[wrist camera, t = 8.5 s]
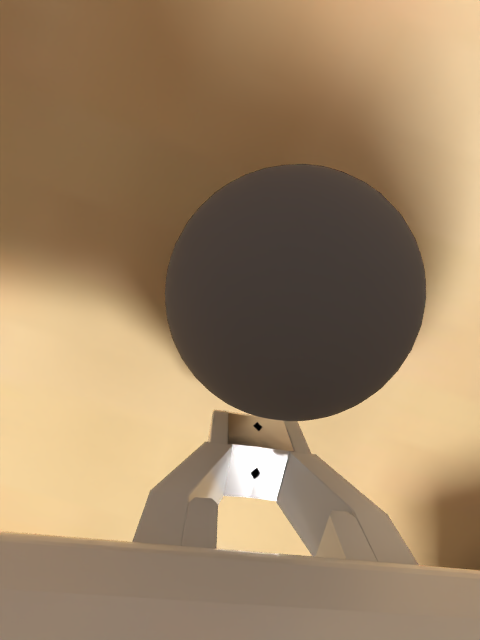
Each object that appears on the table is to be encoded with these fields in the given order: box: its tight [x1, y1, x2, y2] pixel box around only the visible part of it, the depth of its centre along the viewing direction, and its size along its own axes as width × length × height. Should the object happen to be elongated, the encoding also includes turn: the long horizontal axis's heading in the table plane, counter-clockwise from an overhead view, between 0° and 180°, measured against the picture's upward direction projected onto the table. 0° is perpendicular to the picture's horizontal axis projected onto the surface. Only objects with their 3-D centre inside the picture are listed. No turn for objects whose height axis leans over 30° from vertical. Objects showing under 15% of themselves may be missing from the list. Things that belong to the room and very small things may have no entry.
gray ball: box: [165, 164, 426, 421], centre depth 6 cm, size 6×6×6 cm
